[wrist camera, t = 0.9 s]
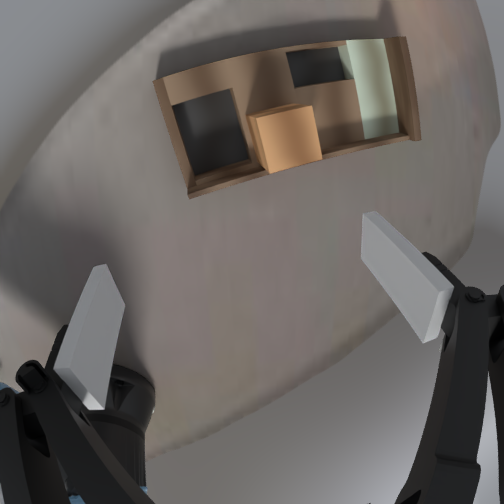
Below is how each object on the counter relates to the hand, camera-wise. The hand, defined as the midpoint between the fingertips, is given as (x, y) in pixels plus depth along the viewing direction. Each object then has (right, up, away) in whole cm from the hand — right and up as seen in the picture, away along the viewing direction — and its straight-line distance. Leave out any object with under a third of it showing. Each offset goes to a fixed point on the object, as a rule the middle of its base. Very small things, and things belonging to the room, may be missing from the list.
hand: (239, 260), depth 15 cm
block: (+3, +12, +14) cm, 19 cm away
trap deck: (+5, +17, +15) cm, 23 cm away
